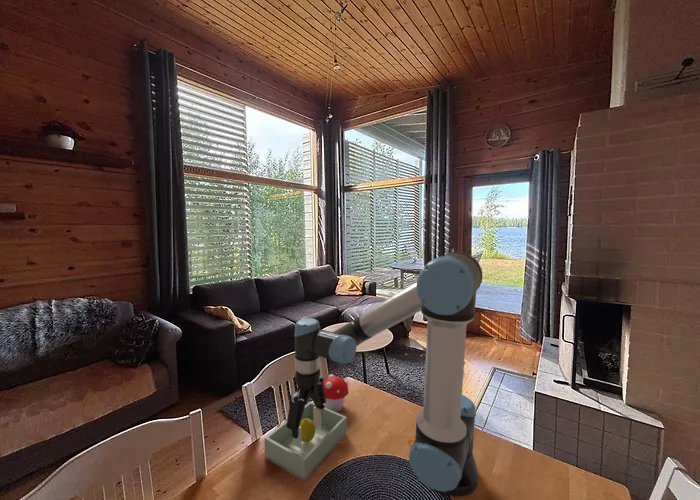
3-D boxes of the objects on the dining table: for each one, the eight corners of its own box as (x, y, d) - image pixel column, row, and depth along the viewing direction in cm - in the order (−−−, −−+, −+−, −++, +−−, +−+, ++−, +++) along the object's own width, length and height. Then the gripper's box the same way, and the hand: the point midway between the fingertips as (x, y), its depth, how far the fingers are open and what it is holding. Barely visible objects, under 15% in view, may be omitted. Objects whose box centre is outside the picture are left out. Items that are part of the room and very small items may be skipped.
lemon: (313, 449, 94) (311, 426, 93) (296, 447, 95) (294, 424, 94) (318, 435, 100) (316, 413, 98) (302, 433, 101) (300, 412, 99)
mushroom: (337, 395, 125) (337, 367, 123) (354, 408, 116) (355, 378, 115) (315, 405, 118) (315, 376, 117) (332, 420, 110) (332, 389, 108)
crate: (346, 434, 102) (346, 416, 102) (304, 482, 84) (304, 460, 84) (310, 418, 111) (310, 401, 110) (264, 457, 92) (264, 438, 92)
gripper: (319, 352, 106) (319, 412, 108) (272, 381, 87) (273, 453, 90) (337, 358, 102) (336, 420, 104) (292, 389, 83) (293, 464, 86)
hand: (307, 435), depth 97 cm, fingers open, 9 cm apart
